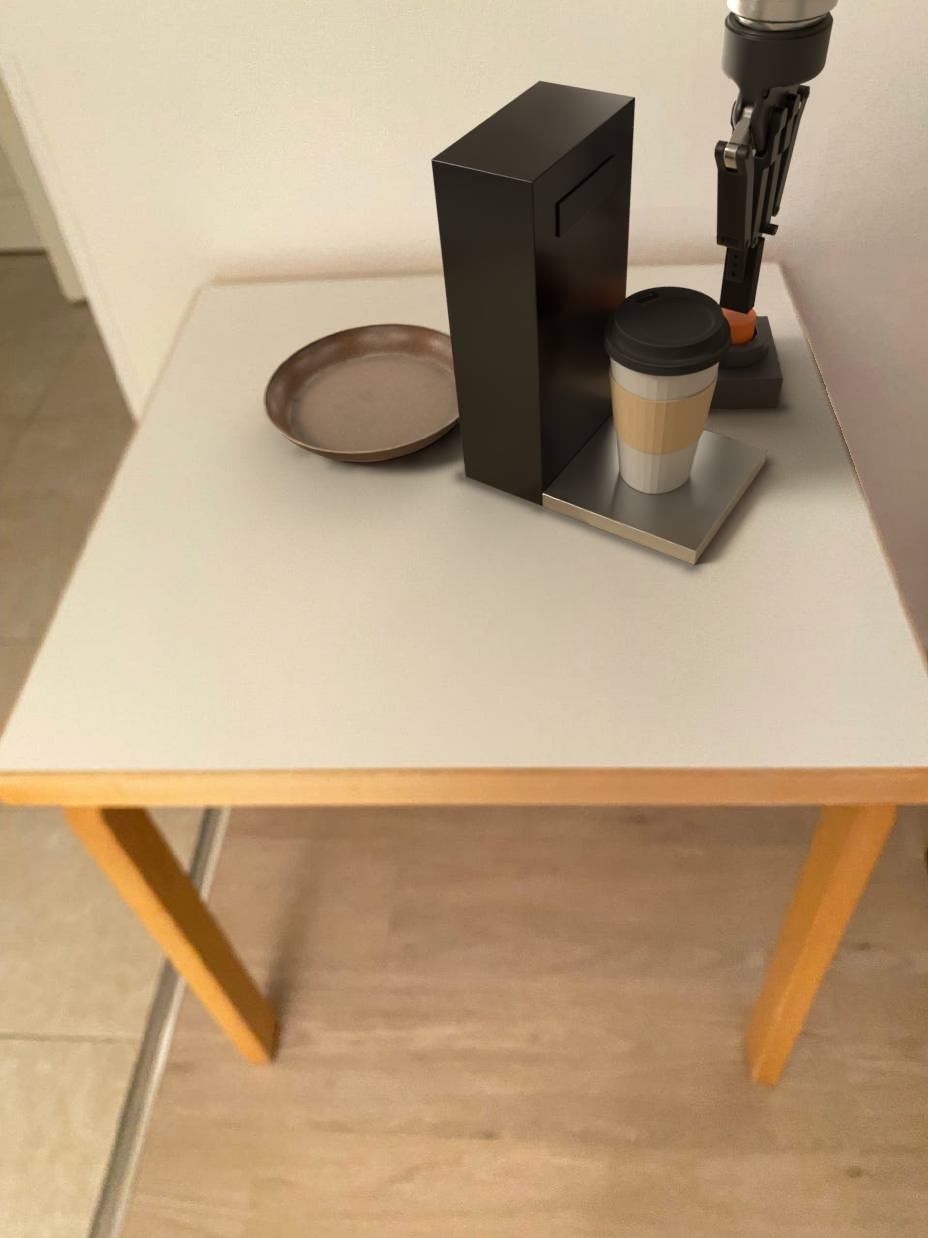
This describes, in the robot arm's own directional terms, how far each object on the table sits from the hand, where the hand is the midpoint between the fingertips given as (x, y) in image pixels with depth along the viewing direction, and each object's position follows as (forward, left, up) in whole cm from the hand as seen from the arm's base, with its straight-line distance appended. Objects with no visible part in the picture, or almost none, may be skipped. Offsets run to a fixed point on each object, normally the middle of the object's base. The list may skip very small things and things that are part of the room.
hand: (736, 306), depth 87 cm
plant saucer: (+27, +20, -8) cm, 34 cm away
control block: (0, 0, -7) cm, 7 cm away
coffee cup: (-1, +17, -6) cm, 18 cm away
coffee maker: (+3, +17, -7) cm, 19 cm away
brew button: (0, 0, -3) cm, 3 cm away
